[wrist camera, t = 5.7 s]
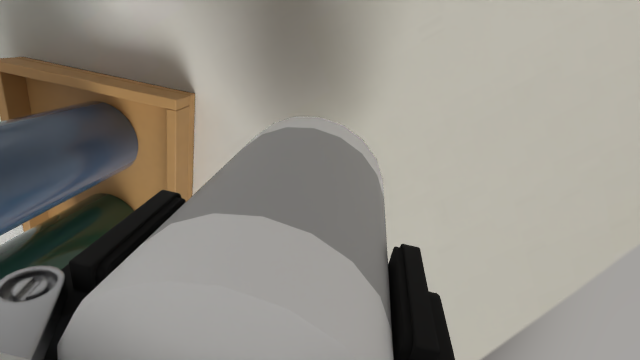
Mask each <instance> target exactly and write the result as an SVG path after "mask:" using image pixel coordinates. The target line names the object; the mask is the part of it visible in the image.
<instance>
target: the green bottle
mask: <svg viewBox="0 0 640 360" xmlns="http://www.w3.org/2000/svg"><path fill="white" fill-rule="evenodd" d="M132 212H134V210H133V209H132V208H131V207H130V206H129V205H128V204H127V203H126V202H125V201H123V200H122V199H120V198H118V197H116V196H114V195H111V194H106V193H97V194H93V195H90V196H89V197H87V198H85V199H83V200H81V201H80V202H78V203H76V204H74V205H72V206H70V207H69V208H67V209H65V210H63V211H61V212H60V213H58V214H56V215H54V216H52V217H51V218H49V219H47V220H45V221H43V222H42V223H40V224H38V225H36V226H34V227H32V228H31V229H29V230H27V231H25V232H23V233H22V234H20V235H18V236H16V237H14V238H13V239H11V240H9V241H7V242H5V243H4V244H2V245H0V280H1V279H2V278H4V277H5V276H7V275H9V274H11V273H13V272H15V271H17V270H21V269H24V268H28V267H33V266H52V267H56V268H58V269H60V270H61V269H63V268H64V267H65V266H67V265H68V264H69V261H70V260H72V259H73V258H74V257H75V256H77V255H78V254H79V253H81V252H82V251H83V250H85V249H86V248H87V247H88V246H90V245H91V244H92V243H94V242H95V241H96V240H97V239H99V238H100V237H101V236H103V235H104V234H105V233H106V232H108V231H109V230H110V229H112V228H113V227H114V226H116V225H117V224H118V223H119V222H121V221H122V220H123V219H125V218H126V217H127V216H128V215H130V214H131V213H132Z"/></svg>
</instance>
